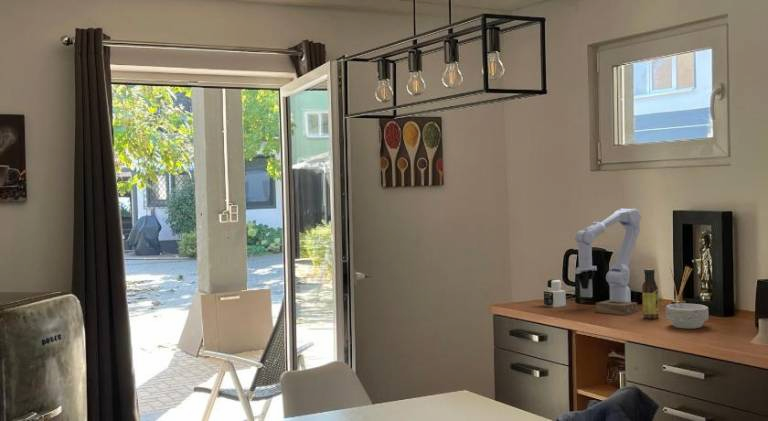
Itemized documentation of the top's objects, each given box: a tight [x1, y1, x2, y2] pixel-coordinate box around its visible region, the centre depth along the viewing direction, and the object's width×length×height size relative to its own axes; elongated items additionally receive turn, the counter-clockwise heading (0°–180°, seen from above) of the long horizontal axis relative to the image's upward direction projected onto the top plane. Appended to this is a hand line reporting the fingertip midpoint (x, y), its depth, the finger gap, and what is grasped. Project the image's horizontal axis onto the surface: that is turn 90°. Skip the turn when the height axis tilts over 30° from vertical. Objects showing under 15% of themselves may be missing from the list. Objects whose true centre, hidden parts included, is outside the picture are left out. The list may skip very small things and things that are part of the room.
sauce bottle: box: [641, 268, 660, 319], centre depth 340 cm, size 6×6×20 cm
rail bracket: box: [579, 279, 593, 298], centre depth 368 cm, size 2×5×8 cm, turn 42°
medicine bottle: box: [543, 278, 567, 308], centre depth 381 cm, size 7×7×12 cm
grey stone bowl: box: [665, 303, 709, 330], centre depth 318 cm, size 15×15×8 cm
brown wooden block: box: [595, 299, 638, 316], centre depth 358 cm, size 10×14×4 cm
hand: (586, 288), depth 368 cm, fingers closed on rail bracket, 2 cm apart
